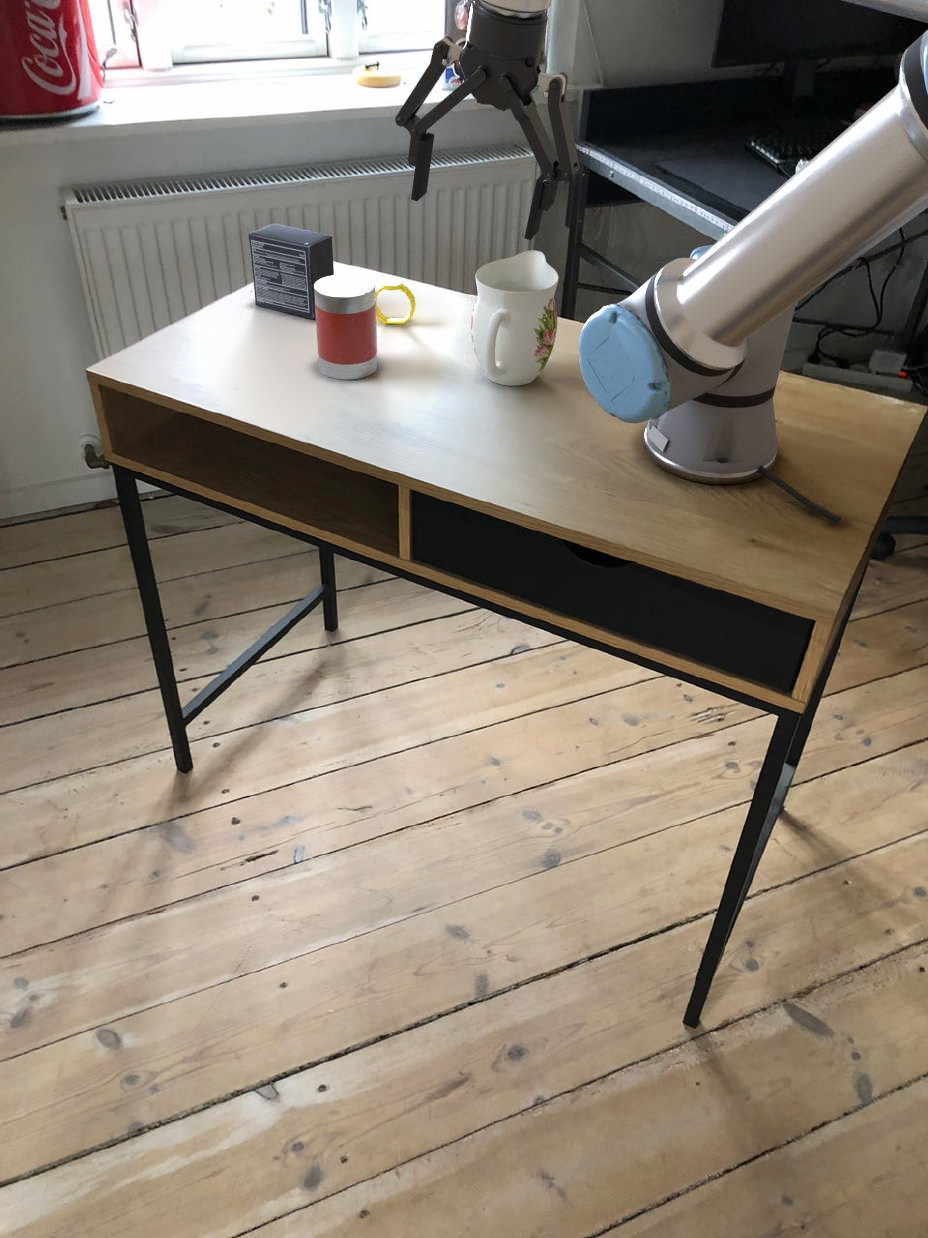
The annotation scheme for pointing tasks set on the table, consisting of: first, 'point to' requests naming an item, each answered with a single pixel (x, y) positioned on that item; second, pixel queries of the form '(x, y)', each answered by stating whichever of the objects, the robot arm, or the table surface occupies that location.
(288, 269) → the small box
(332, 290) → the tin can
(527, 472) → the table surface
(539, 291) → the pitcher
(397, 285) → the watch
